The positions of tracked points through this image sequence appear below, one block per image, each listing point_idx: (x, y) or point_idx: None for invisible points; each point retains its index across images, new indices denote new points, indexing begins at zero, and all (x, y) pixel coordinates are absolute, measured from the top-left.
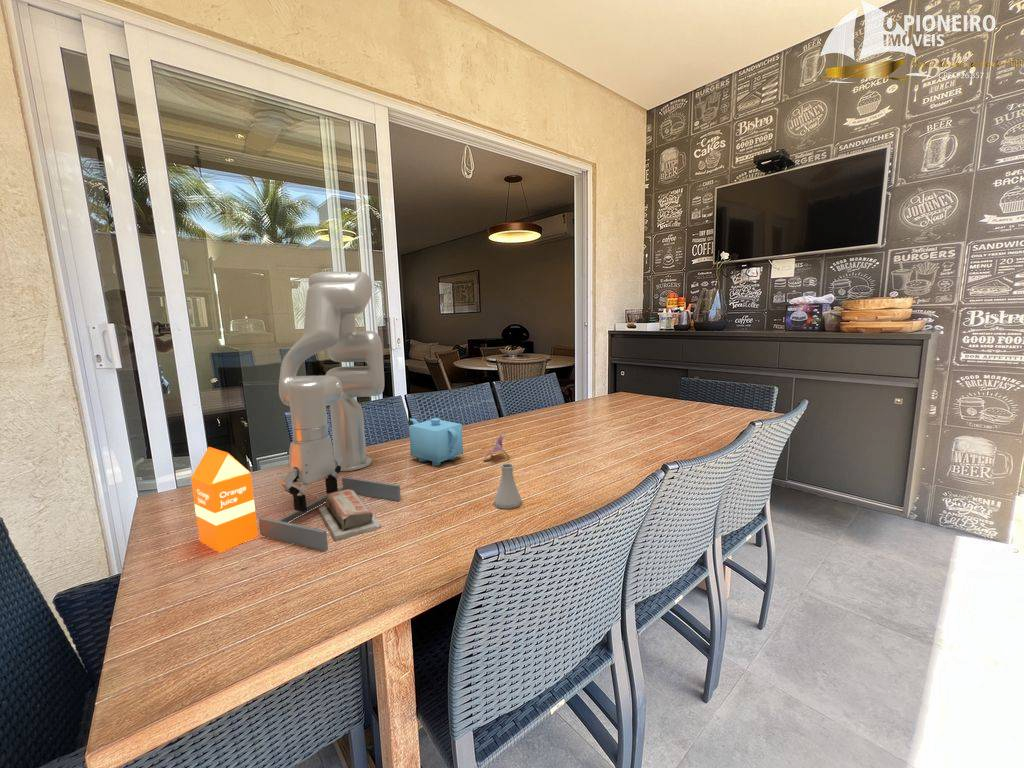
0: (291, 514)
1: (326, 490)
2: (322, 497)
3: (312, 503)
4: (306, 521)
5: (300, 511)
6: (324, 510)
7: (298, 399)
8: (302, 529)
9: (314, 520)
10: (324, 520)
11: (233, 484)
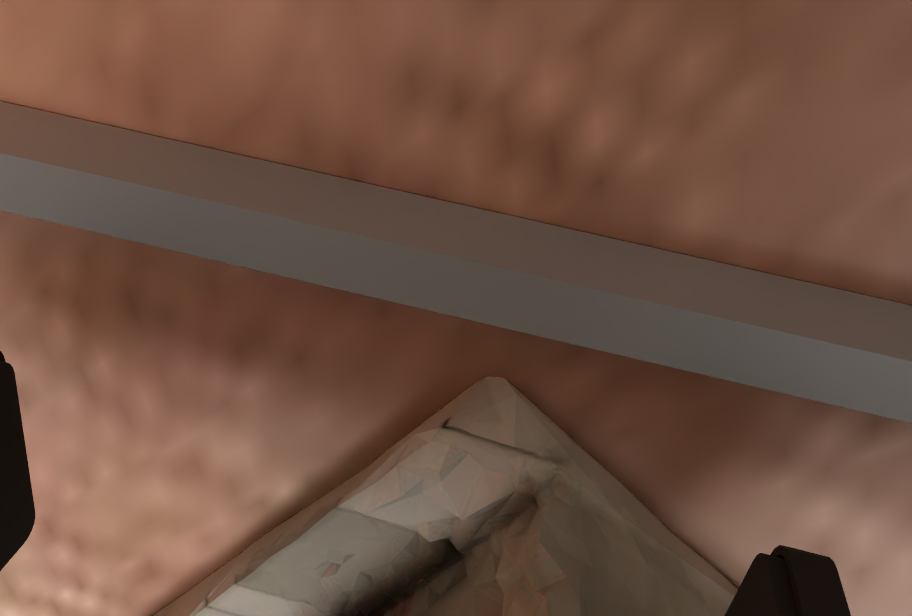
0: (20, 200)
1: (772, 605)
2: (818, 353)
3: (509, 307)
4: (154, 370)
5: (206, 248)
6: (388, 529)
7: None
8: None
9: (212, 449)
10: (226, 569)
11: None
